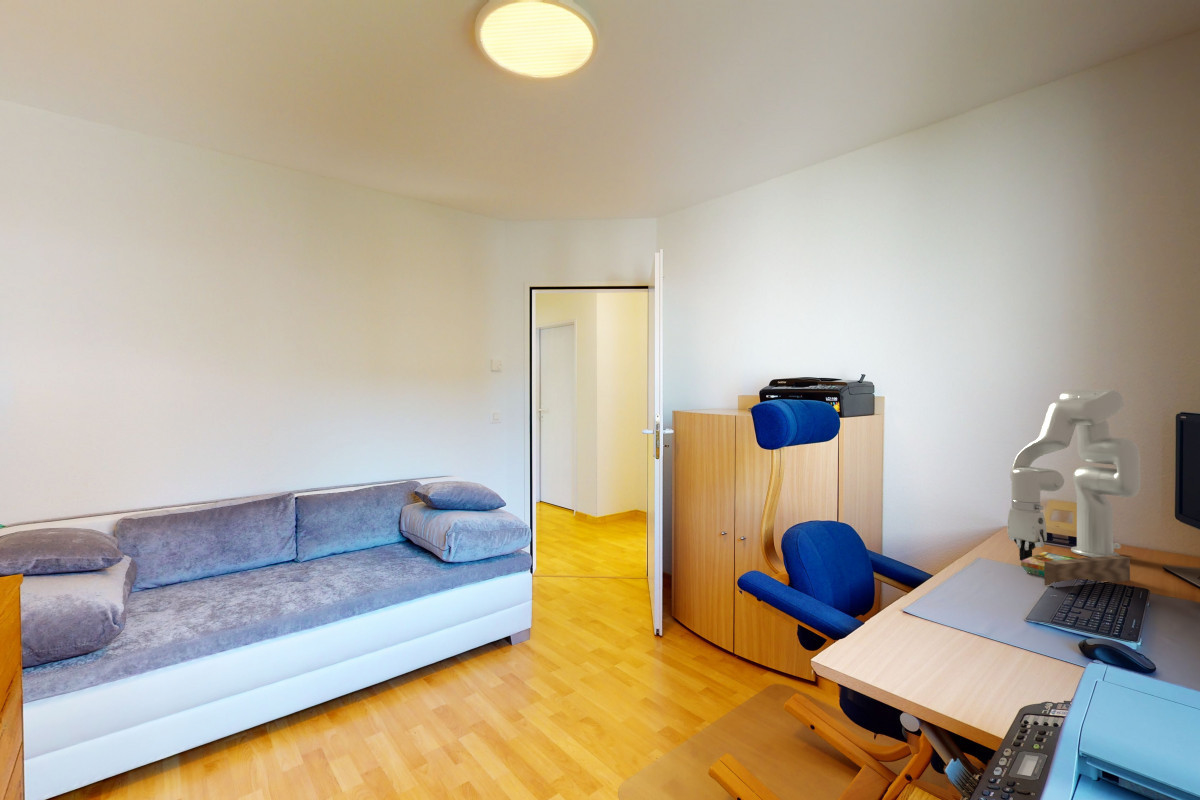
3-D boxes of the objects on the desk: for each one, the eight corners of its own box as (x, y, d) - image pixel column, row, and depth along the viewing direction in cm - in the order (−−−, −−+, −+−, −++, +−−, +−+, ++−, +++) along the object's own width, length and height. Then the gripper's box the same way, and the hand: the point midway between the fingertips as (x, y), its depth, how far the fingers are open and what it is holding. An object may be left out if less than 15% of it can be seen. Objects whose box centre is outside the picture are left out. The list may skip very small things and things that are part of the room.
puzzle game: (1021, 558, 168) (1043, 549, 179) (1021, 573, 168) (1043, 563, 179) (1068, 568, 159) (1089, 558, 170) (1068, 583, 159) (1089, 572, 170)
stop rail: (1118, 577, 164) (1118, 555, 164) (1129, 580, 161) (1129, 557, 161) (1044, 585, 156) (1044, 561, 156) (1055, 588, 153) (1055, 564, 153)
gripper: (1058, 510, 170) (1058, 566, 170) (1012, 501, 184) (1012, 554, 184) (1040, 511, 168) (1040, 568, 168) (995, 502, 183) (995, 555, 182)
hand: (1025, 560), depth 176 cm, fingers closed
